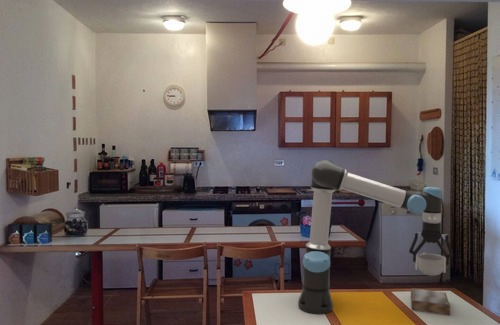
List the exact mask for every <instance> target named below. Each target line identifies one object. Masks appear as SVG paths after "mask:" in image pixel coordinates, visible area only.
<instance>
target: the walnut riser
mask: <svg viewBox="0 0 500 325" xmlns="http://www.w3.org/2000/svg"><path fill="white" fill-rule="evenodd" d="M410 305H411V310H412V311H416V312H417V311H418V312H424V313H429V314H430V313H431V314H432V313H433V314H440V315H446V316H450V315H451V305H450V301H449V298H448V296H447V293H446V292H443V291H436V290H435V291H434V290H428V289H421V288H410Z"/></svg>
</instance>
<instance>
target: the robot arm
mask: <svg viewBox="0 0 500 325" xmlns="http://www.w3.org/2000/svg"><path fill="white" fill-rule="evenodd" d="M310 188H311V190H312V191H313V196H312V198H313V199H312V206H311V207H312V209H311V221H310V232H309V241H308V242H307V243H305V252H304V255H303V259H302V290H301V293H300V296H299V297H298V298H299V299H298V301H297V302H298V303H297V304H298V305H297V306H298V309H300V310H301V311H303V312H304V313H305V312H306V313H308V314H309V313H310V314H315V315H316V314H317V315H320V314H321V315H322V314H327V313H331V312H332V311H333V310H334V303H333V299H332V296H331V291H330V278H331V277H330V272H331V269H330V268H331V249H332V246H331V245H330V244H329V234H330V224H331V212H332V204H333V203H332V202H333V201H332V200H333V193H335V191H341V190H344V191H348V192H350V193H354V194H357V195H360V196H363V197H367V198H369V199H373V200H374V201H375V200H376V201H378V202H381V203H385V204H388V205H390V206H391V205H392V206H394V207H397V208H400V209H402V210H403V209H404V210H405V211H409V212H410V213H412V214H413V213H414V214H420V213H422V225H421V226H422V230H421V232H418V231H415V232H414V237H413V239H412V243H411V245H410V247H409V250H408V252H409V254H411V255H412V260H413V262H414V263H415V270H416V271H418V269H419V266H418V255H419V251H420V250H421V249H422V248H423V246H424V245H425V244H426V243H431V244H432V243H433V244H437V246H438V247H439V249H440V250H441V251H442V253H443V255H444V256H443V257H444V270H443V272H442V273H444V274H445V273H447V272H446V269H447V266H449V260H450V258H453V257H454V253H453V250H452V247H451V245H450V242H449V234H448V233H445V234H442V232H441V230H442V222H441V221H442V203H443V202H442V200H443V197H442V196H443V194H442V193H443V192H442V189H441V187H435V186H434V187H433V186H425V187H423V190H422V191H416V190H415V191H414V190H413V191H412V190H404V189H402V188H401V189H400V188H398V187H395V186H392V185H388V184H385V183H381V182H379V181H376V180H372V179H369V178H366V177H363V176H361V175H358V174H355V173H352V172H348V171H347V169H346V168H344V167H343V168H342V167H340V166H338V165H336V164H335V163H334V162H333V161H332V160H330V159H329V160H327V159H321V160H319V161H316V162H315V163H314V165H313V166H312V169H311V183H310ZM420 236H421V237H422V239H421V241H420V243H419V244H418V245H417V246H416V244H417V242H418V238H420ZM441 238H442V239H443V240H444V241H445V245H446V247H447V251H448V252H447V251H446V249H445V248H444V246H443V245H442V243H441V241H440V239H441ZM415 246H416V247H415Z"/></svg>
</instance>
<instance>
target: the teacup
mask: <svg viewBox="0 0 500 325" xmlns="http://www.w3.org/2000/svg"><path fill="white" fill-rule="evenodd" d="M444 257H445V256H443V255H441V254H436V253H430V252H429V253H426V252H423V253H418V269H419V271H420V272H421V273H423V275H425V276H439V275H440V274H442V273H444V272H443V270H444Z"/></svg>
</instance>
